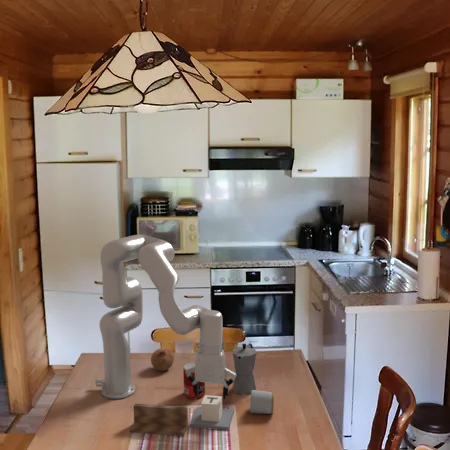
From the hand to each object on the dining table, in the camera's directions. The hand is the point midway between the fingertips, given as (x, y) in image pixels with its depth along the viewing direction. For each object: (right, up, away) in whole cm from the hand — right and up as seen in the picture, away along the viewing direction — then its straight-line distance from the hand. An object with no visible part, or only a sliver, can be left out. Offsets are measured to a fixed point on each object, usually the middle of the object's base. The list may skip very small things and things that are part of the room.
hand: (210, 395), depth 184 cm
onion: (-21, -2, +42) cm, 47 cm away
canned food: (-6, -6, +19) cm, 21 cm away
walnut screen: (-17, -9, -5) cm, 20 cm away
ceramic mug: (+18, -7, +7) cm, 20 cm away
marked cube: (0, -7, +1) cm, 7 cm away
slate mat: (+1, -8, +1) cm, 8 cm away
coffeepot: (+13, -5, +24) cm, 28 cm away
